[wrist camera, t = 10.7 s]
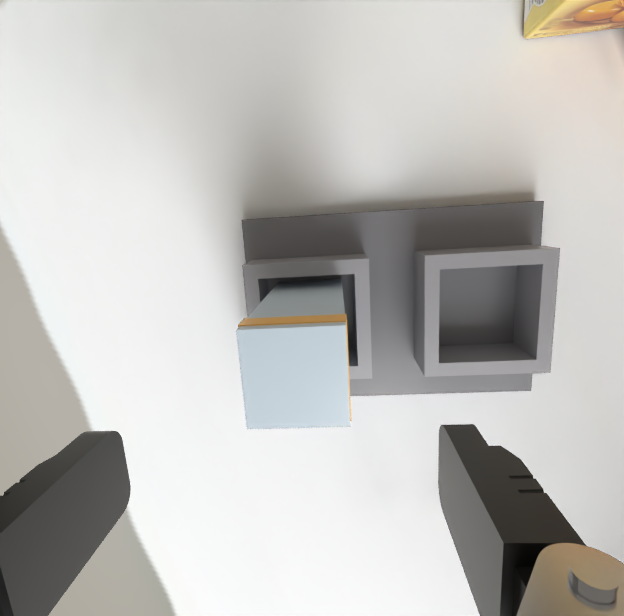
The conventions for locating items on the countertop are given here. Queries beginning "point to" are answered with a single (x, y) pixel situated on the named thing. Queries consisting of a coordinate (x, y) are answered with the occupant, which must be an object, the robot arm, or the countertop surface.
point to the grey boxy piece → (423, 291)
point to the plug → (296, 357)
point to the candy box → (571, 16)
